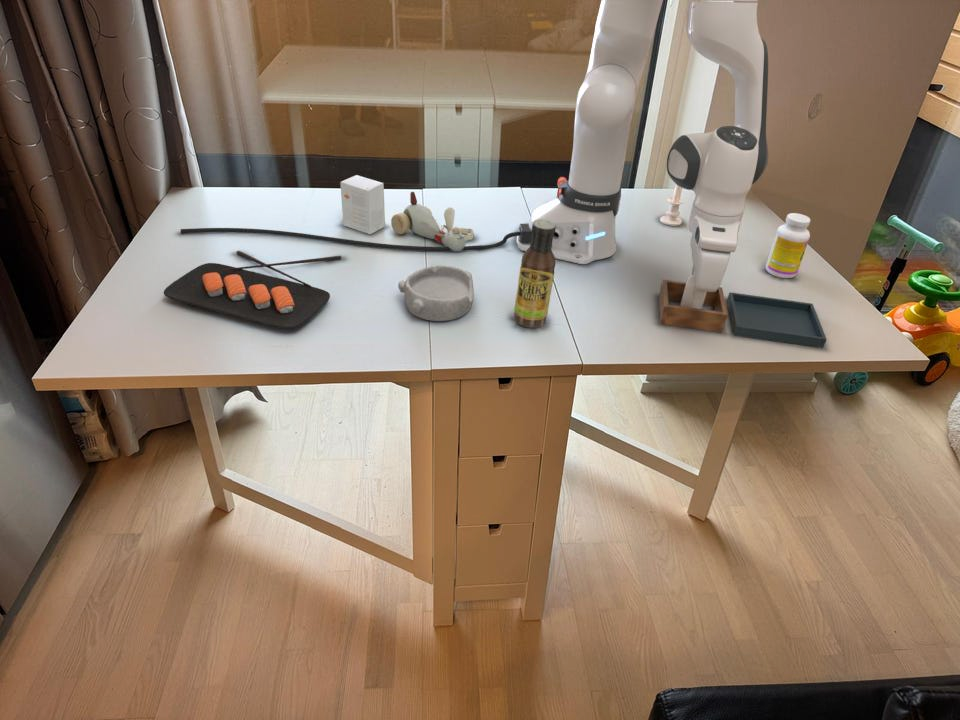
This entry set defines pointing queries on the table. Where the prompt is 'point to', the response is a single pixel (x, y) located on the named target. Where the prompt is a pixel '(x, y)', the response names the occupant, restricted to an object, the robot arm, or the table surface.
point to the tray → (775, 320)
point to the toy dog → (430, 225)
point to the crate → (691, 309)
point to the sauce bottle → (536, 276)
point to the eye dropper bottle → (691, 295)
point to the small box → (363, 204)
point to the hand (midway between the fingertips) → (696, 289)
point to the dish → (438, 292)
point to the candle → (673, 209)
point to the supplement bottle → (789, 246)
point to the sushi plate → (251, 293)
